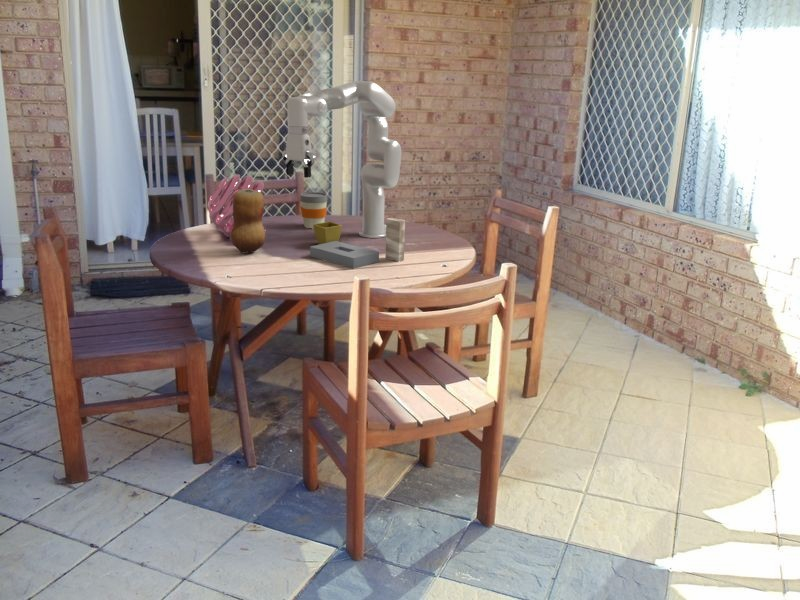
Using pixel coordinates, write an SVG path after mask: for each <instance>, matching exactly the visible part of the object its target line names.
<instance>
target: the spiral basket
mask: <svg viewBox="0 0 800 600" xmlns="http://www.w3.org/2000/svg"><path fill="white" fill-rule="evenodd" d="M240 178H241V175H240V174H239V173H238V174H233V176H232V177H231V178H230V179H229V178H228V177H224V178H223V179H222V180H221V181H220V182H219V183H218V185H217V186H216V188H215V189H214V191H213V193H212V194H211V193H210V194H209V199H208V202H207V208H208V210H209V215H208V216H209V220H210V221H212V222H213V224H214V225H215V229H216V230H217V231H219V232H222V233H224V236H225V237H227V238H228V237H231V232H232V228H233V225H234V219H233V199H234V195H235V193H236V192H237V191H238V190H241V189H251V190H256V191H259V192H261V193H262V192H263V191H264V187H265V183H264V182H263V181H262V180H257V181H256V182H255V183H254V184H253V186H251V185H252V182H253V180H254V177H253V176H252V175H249V174H247V175H246V176H244V178H243V179H242V180H241V181H240V182H239V180H240ZM228 179H229V181H228ZM227 181H228V182H227ZM237 184H238V185H237ZM250 187H251V188H250ZM219 213H220V214H219ZM225 228H226V229H225ZM264 231H265V232H266V231H267V229H266V227H264Z"/></svg>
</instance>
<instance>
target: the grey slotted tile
mask: <svg viewBox="0 0 800 600" xmlns="http://www.w3.org/2000/svg"><path fill="white" fill-rule="evenodd" d="M309 256H310V257H311V258H315V259H318V260H322V261H325V262H328V263H333V264H336V265H339V266H343V267H347V268H350V269H357V268H362V267H365V266H368V265H372V264H376V263H378V262H380V251H378V250H373V249H370V248H366V247H362V246H357V245H354V244H350V243H346V242H341V241H333V242H328V243H324V244H319V243H318V244H316V245H311V246H309Z"/></svg>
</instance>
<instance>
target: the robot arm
mask: <svg viewBox="0 0 800 600" xmlns="http://www.w3.org/2000/svg"><path fill="white" fill-rule="evenodd" d="M286 102H287V103H286V104H287V105H286V106H287V135H286V142H285V143H286V144H285V149H284V150H283V151H282V152H281V154H282V158H283V160H284V164H285V165H286V170H285V171H286V175H287V176H289V175H294V173H295V172H294V162H299V163H301V162H302V163H303V165H304V167H303V177H304V178H307V179H308V178H311V177H312V167H313V165H314V164H315V159H316V155H314V154H313V153H312V151H313V150H312V149H313V148H312V143H311V137H310V134H309V122H308V121H309V120H308V119H309V118H308V117H317V118H320V117H322V116H324V115H325V114H326V112H327V110H338V109H344V108H347V107H350V106H352V105H355V104H358V108H359V110H360V112H361V113H362V115H363V116H364V117H365V120H366V121H367V125H368V133H367V141H366V142H367V143H366V144H367V145H366V156H367V157H368V158H369V159H370V160H373V161H378V162H384V164H382V163H373V162H369V163H367V164H364V165H363V167H362V168H361V170H360V180H361V181H360V182H361V185H362V230H360V231H359V232H358V235H359V236H361V237H363V238H370V239H379V238H380V239H381V238H384V237H385V238H386V223H385V202H386V201H385V200H386V198H385V192H384V191H385V190H384V189H392V188H395V187H396V186H397V184H398V182H399V179H400V174H401V173H400V172H401V165H402V154H403V152H402V145H400V143H399V142H398V141H397V140H395V139H392V138H391V139H390V138H389V124H388V120H387V118H390V117H392V116H393V115H394V114H395V112H396V107H397V105H396V102H395V100H394V99H393V97H392V96H390V94H388V92H386V91H385V90H384V89H383V88H382V87H381V86H380V85H379V84H377V83H375V82H374V81H366V80H364V81H363V80H354V81H351V82H348V83H344V84H341V85H337V86H334V87H329V88H324V89H318V90H313V91H308V92H306V93H305V92H304V93H302V94H299V95H297V96H291V97H289V98H288V99H287V101H286Z"/></svg>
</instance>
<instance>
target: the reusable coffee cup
mask: <svg viewBox="0 0 800 600" xmlns="http://www.w3.org/2000/svg"><path fill="white" fill-rule="evenodd" d="M299 202H300V205H301V206H300V212H301V217H302V220H303V225H304V226H305V227H306V228H305V227H304V228H305V229H308V228H312V229H311V230H314V227H313V224H318V223H325V222H326V221H325V220H326V219H325V218H326V217H327V210H328V206H327V205H328V203H327V202H328V194H327V193H325V192H316V191H313V192H311V191H310V192H309V191H308V192H302V193H300V197H299Z"/></svg>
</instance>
